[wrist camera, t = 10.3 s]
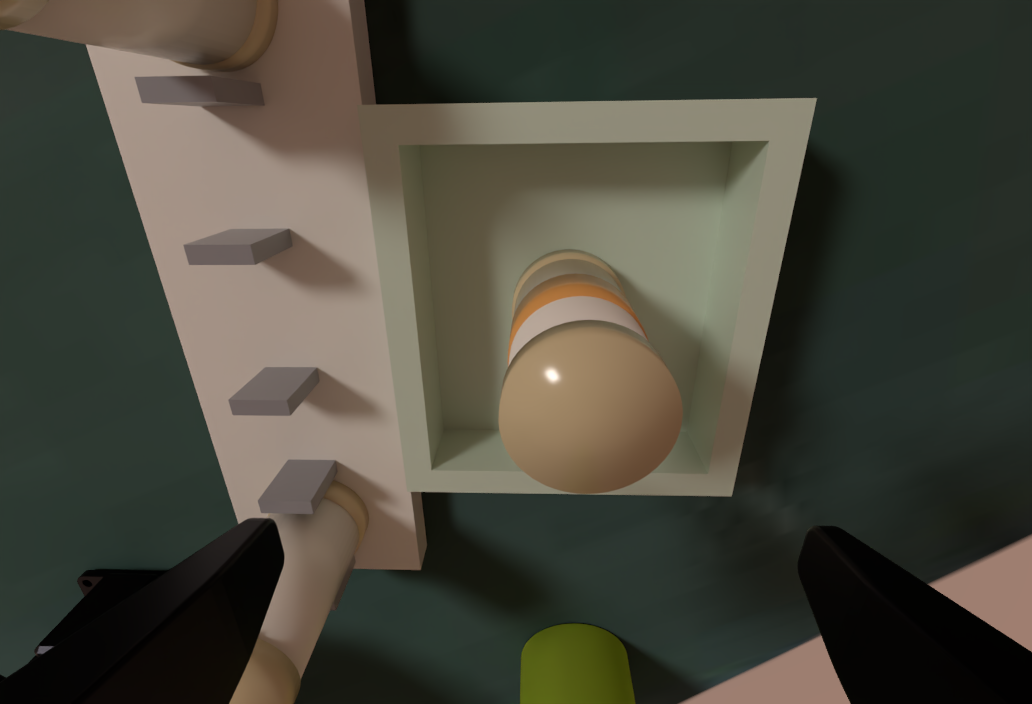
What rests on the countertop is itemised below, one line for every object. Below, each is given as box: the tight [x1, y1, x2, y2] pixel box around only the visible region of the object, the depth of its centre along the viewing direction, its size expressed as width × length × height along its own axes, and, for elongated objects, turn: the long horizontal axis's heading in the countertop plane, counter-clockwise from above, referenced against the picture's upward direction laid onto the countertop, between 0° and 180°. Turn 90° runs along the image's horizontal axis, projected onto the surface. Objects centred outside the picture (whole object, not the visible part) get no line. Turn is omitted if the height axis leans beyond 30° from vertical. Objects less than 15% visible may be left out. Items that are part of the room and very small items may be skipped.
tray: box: [357, 98, 817, 496], centre depth 17 cm, size 13×12×4 cm
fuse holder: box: [86, 0, 427, 610], centre depth 17 cm, size 26×8×4 cm, turn 1°
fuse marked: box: [498, 249, 683, 494], centre depth 14 cm, size 4×4×8 cm
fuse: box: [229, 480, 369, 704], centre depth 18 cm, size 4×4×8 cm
